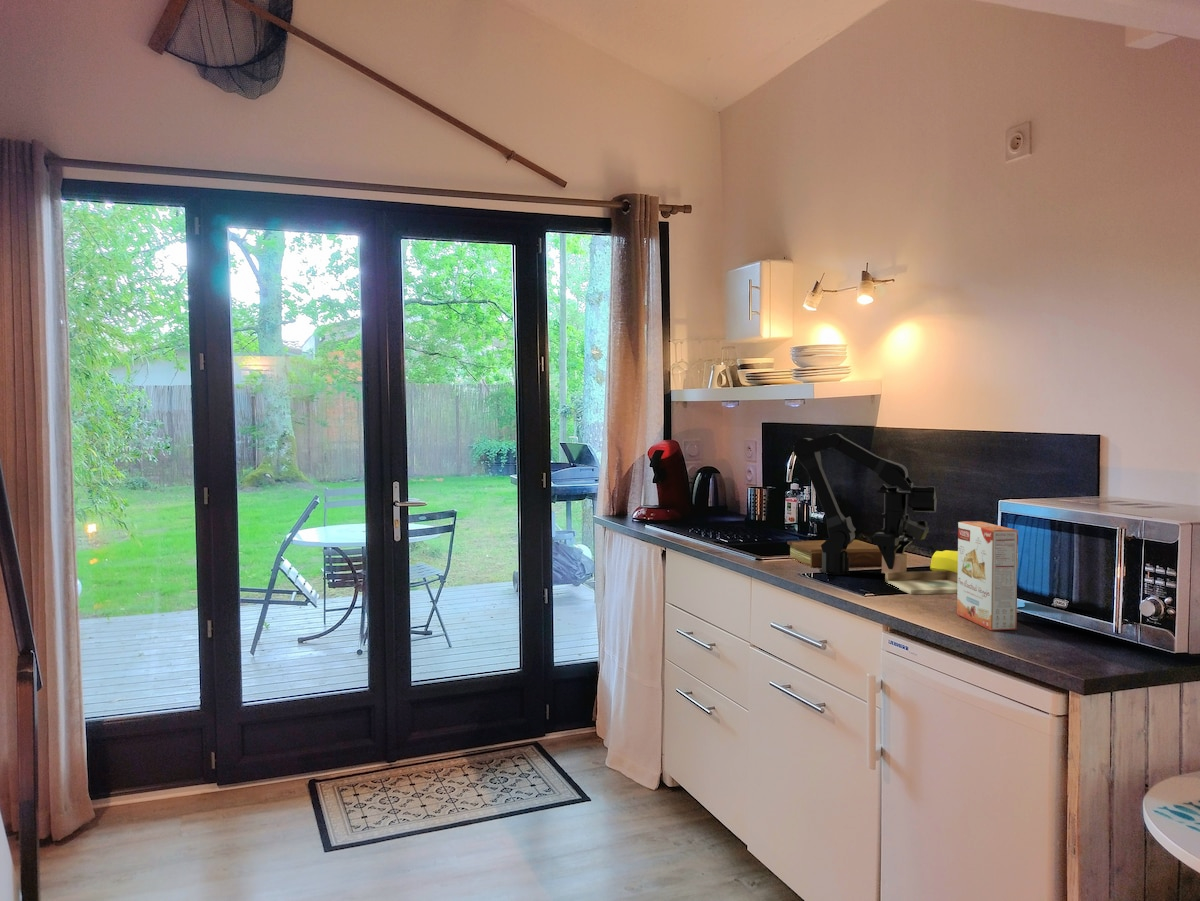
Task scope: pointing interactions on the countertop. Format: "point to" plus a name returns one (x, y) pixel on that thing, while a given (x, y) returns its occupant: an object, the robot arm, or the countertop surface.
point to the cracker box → (987, 575)
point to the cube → (896, 564)
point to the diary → (856, 550)
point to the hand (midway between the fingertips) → (894, 567)
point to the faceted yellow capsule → (945, 561)
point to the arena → (924, 581)
